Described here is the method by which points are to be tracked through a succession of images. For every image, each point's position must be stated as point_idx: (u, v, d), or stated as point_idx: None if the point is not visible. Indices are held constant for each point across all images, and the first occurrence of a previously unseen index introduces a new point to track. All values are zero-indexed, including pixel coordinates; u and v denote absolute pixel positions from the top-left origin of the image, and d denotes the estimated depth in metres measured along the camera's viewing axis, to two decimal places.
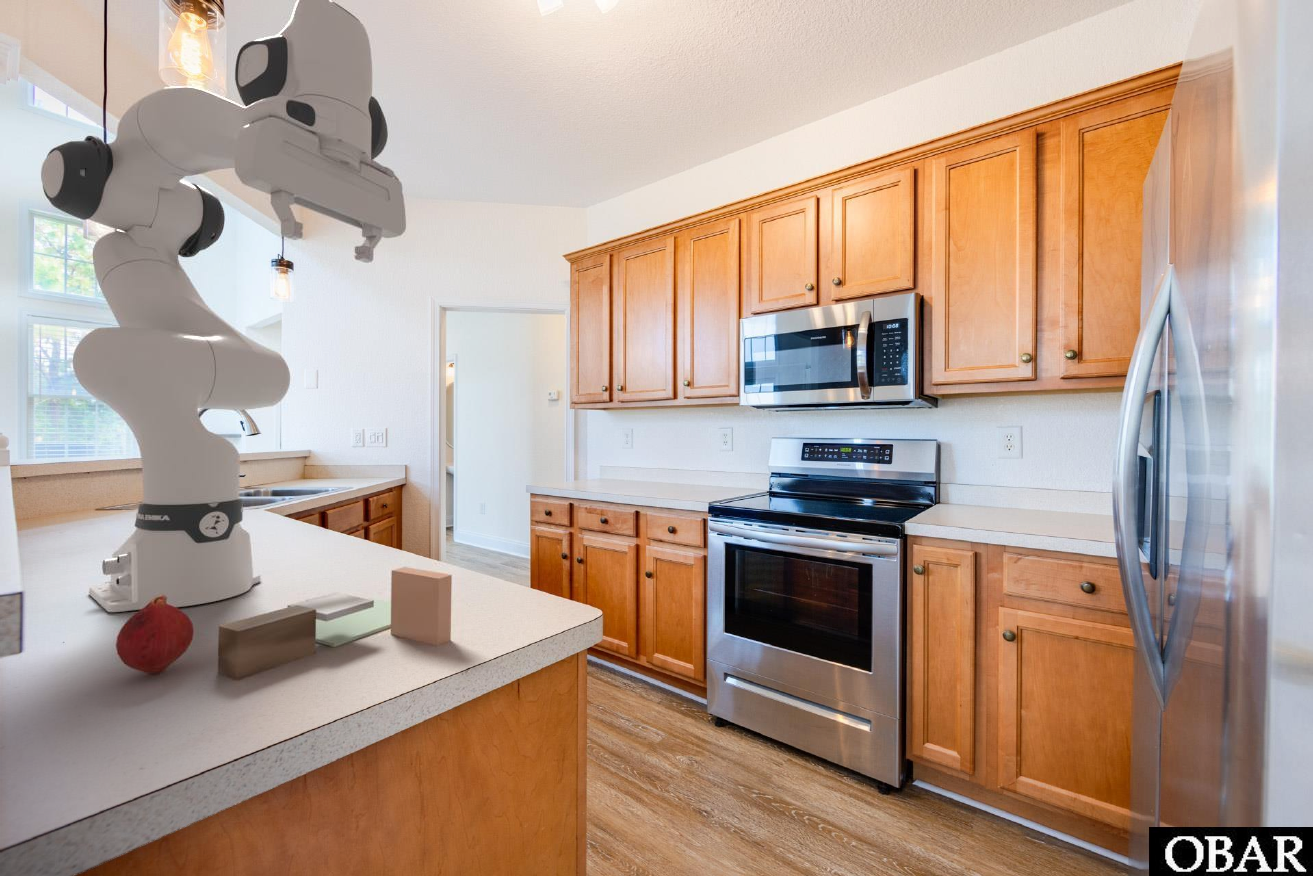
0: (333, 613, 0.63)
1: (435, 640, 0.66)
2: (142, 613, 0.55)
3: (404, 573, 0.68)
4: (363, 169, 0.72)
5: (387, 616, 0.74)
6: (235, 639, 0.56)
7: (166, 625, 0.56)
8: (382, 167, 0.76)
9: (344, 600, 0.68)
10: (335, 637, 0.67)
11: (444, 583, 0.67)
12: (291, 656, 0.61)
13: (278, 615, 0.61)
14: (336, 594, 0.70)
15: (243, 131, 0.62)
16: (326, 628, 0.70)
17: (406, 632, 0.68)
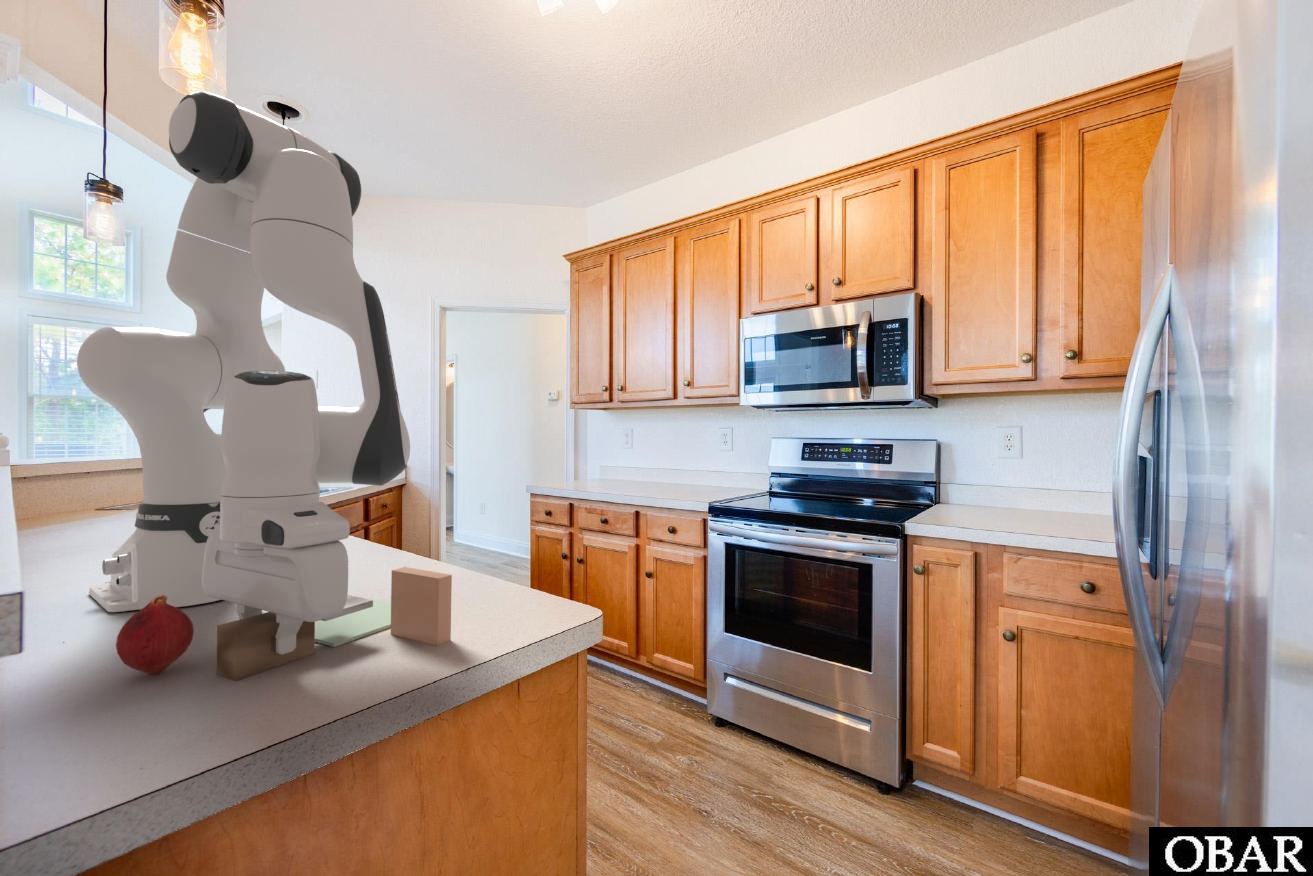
0: None
1: (435, 640, 0.66)
2: (142, 613, 0.55)
3: (404, 573, 0.68)
4: None
5: (387, 616, 0.74)
6: (234, 639, 0.56)
7: (166, 625, 0.56)
8: None
9: None
10: (335, 637, 0.67)
11: (444, 583, 0.67)
12: (290, 656, 0.60)
13: None
14: None
15: (317, 564, 0.55)
16: (326, 628, 0.70)
17: (406, 632, 0.68)
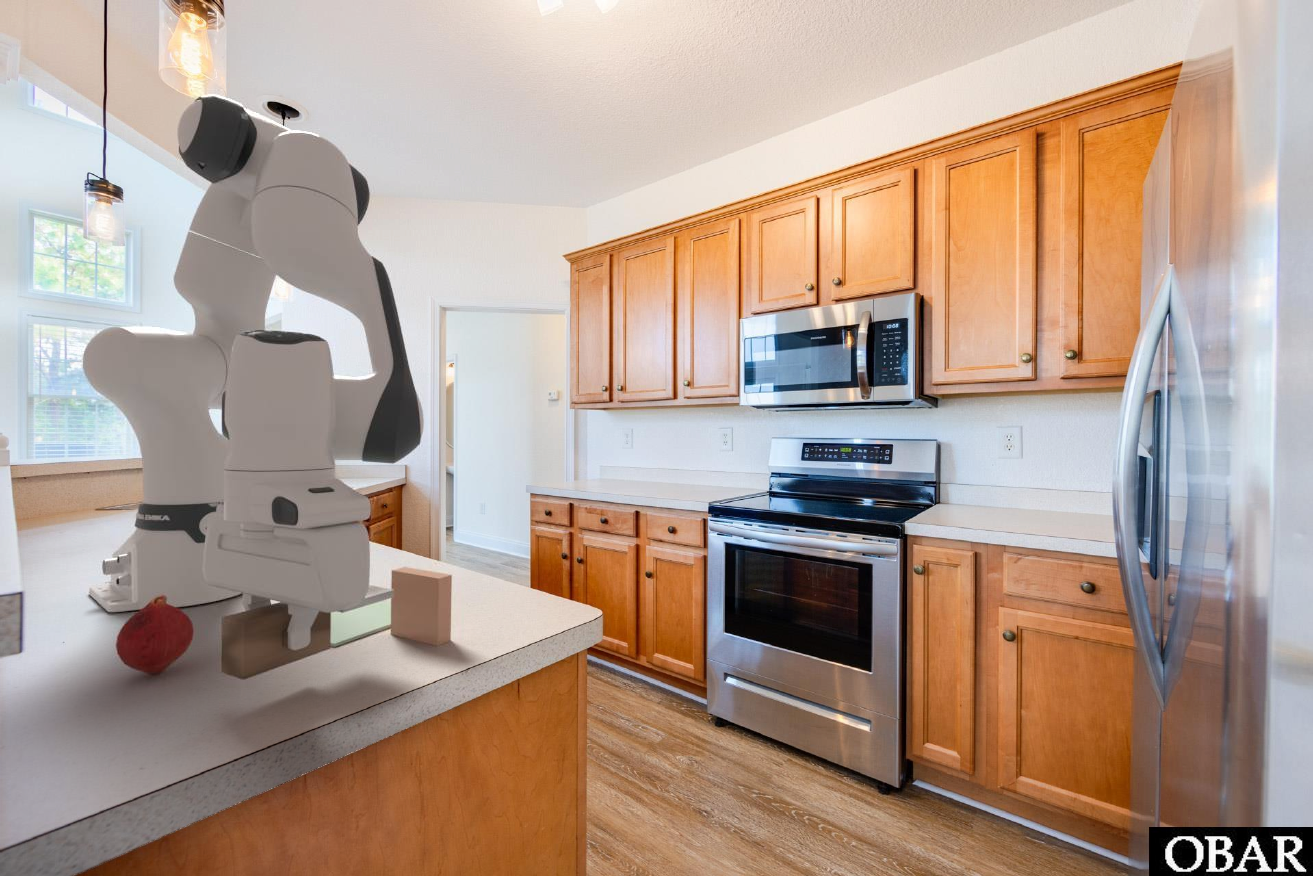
0: None
1: (435, 640, 0.66)
2: (142, 613, 0.55)
3: (404, 573, 0.68)
4: None
5: (387, 616, 0.74)
6: (241, 632, 0.49)
7: (166, 625, 0.56)
8: None
9: None
10: (335, 637, 0.67)
11: (444, 583, 0.67)
12: (304, 652, 0.54)
13: None
14: None
15: (335, 547, 0.48)
16: None
17: (406, 632, 0.68)
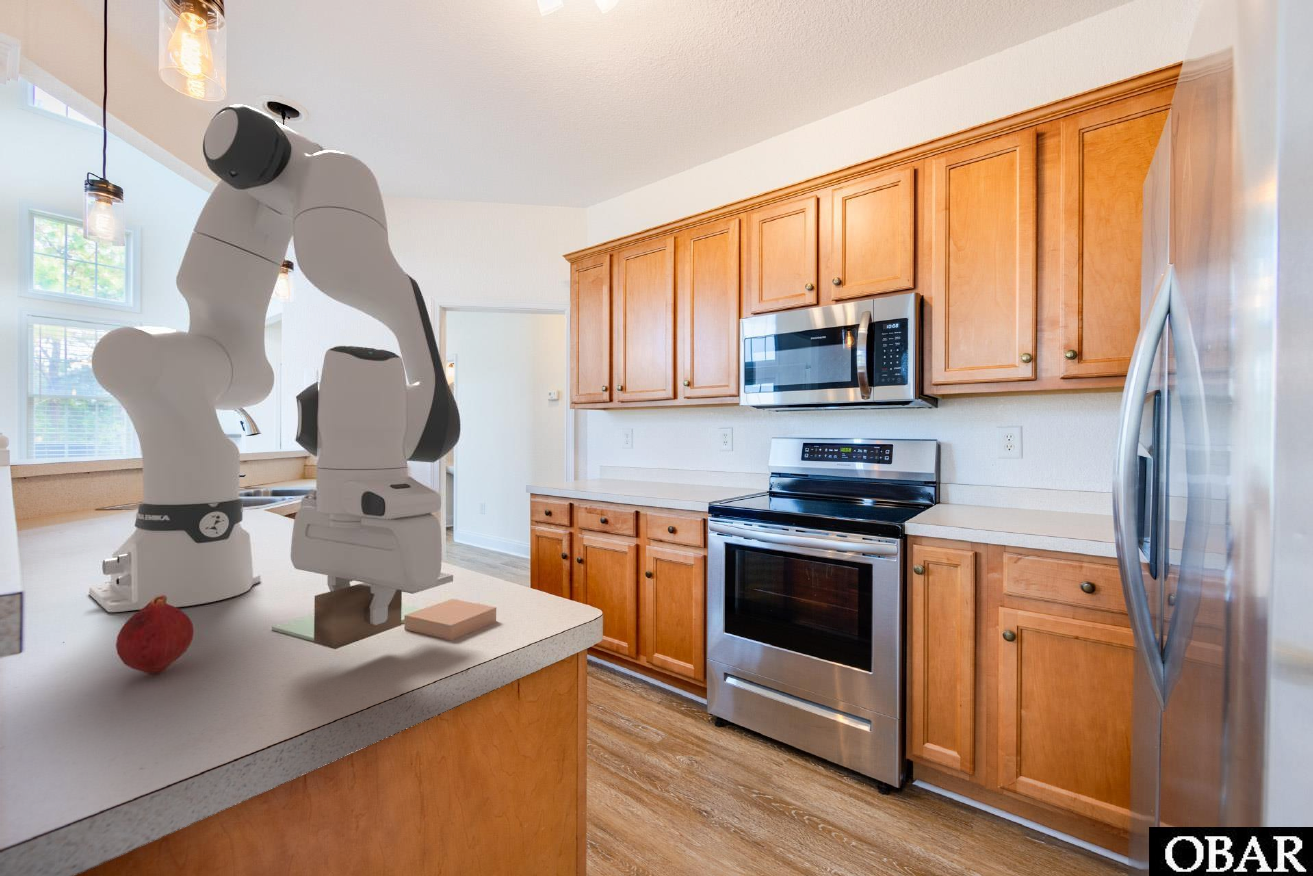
0: None
1: (452, 623, 0.68)
2: (142, 613, 0.55)
3: (463, 601, 0.77)
4: None
5: None
6: (333, 608, 0.57)
7: (166, 625, 0.56)
8: None
9: None
10: None
11: (492, 615, 0.74)
12: (381, 627, 0.62)
13: (368, 587, 0.62)
14: None
15: (415, 535, 0.56)
16: None
17: (424, 616, 0.71)
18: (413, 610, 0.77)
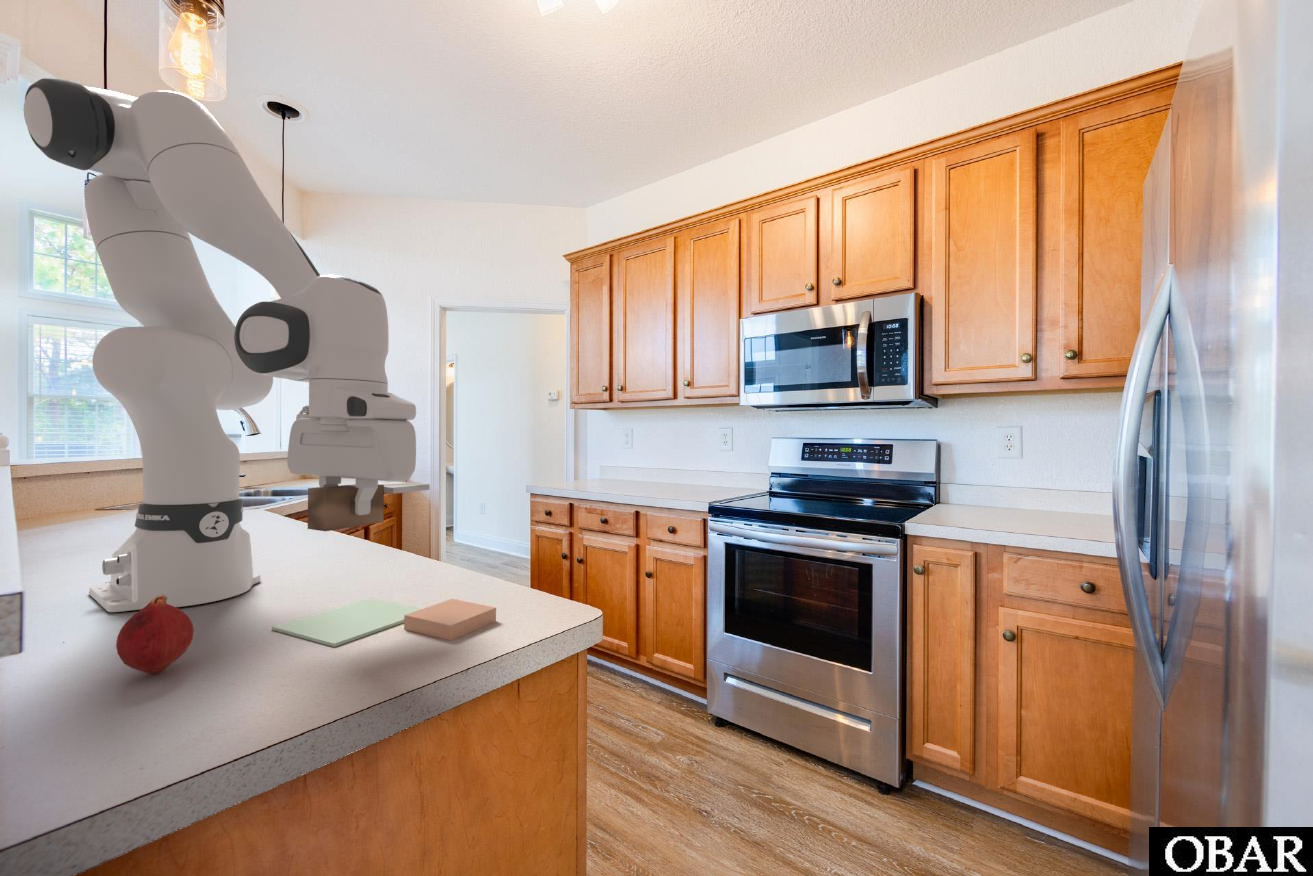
0: (398, 488, 0.74)
1: (452, 623, 0.68)
2: (142, 613, 0.55)
3: (463, 601, 0.77)
4: None
5: (387, 616, 0.74)
6: (324, 497, 0.67)
7: (166, 625, 0.56)
8: None
9: (404, 483, 0.79)
10: (335, 637, 0.67)
11: (491, 615, 0.74)
12: (365, 520, 0.72)
13: (354, 485, 0.72)
14: (395, 482, 0.81)
15: (393, 433, 0.66)
16: (326, 628, 0.70)
17: (423, 616, 0.70)
18: (413, 610, 0.77)
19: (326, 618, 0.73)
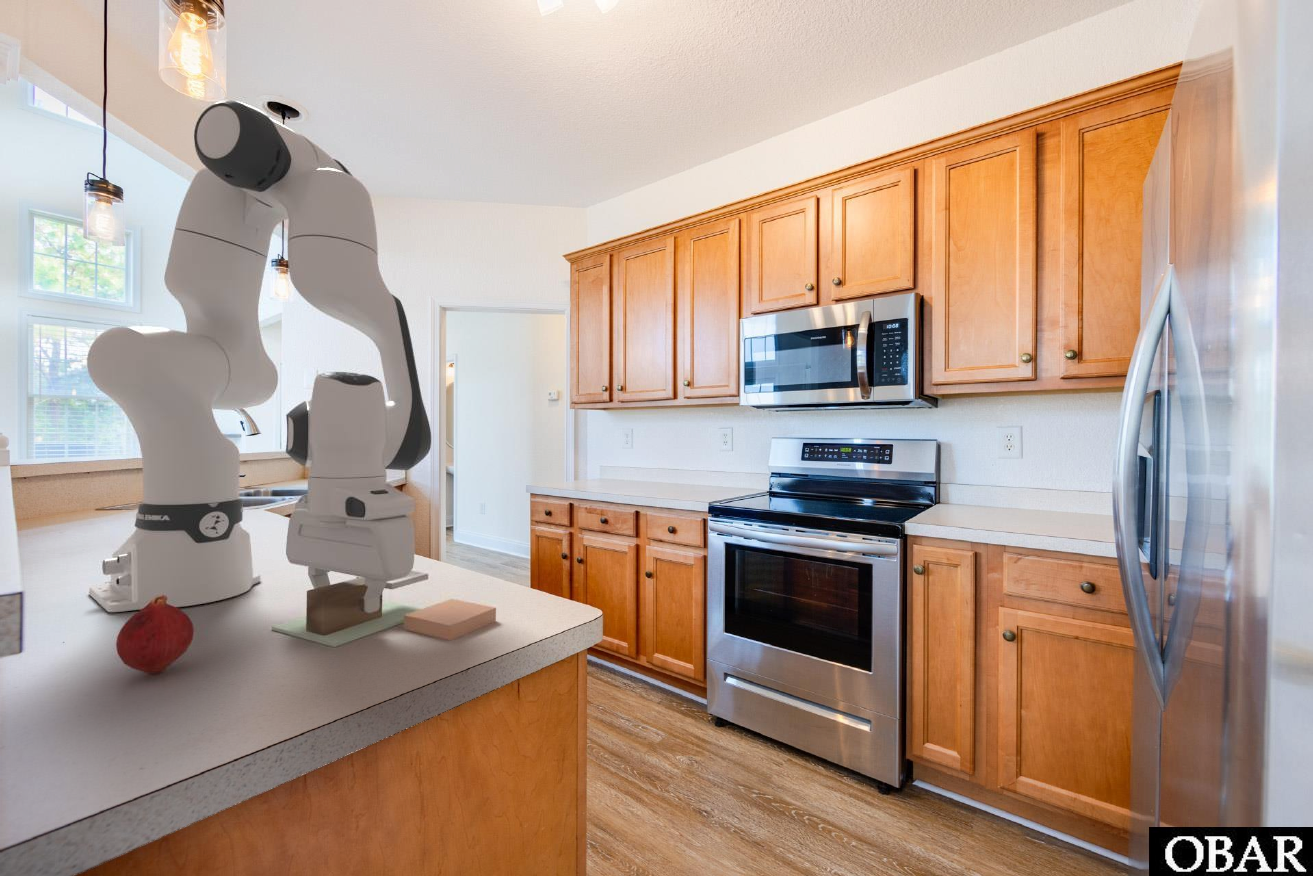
0: (397, 583, 0.74)
1: (451, 623, 0.68)
2: (142, 613, 0.55)
3: (463, 601, 0.77)
4: None
5: (387, 616, 0.74)
6: (322, 601, 0.67)
7: (166, 625, 0.56)
8: None
9: None
10: (335, 637, 0.67)
11: (491, 615, 0.74)
12: (364, 618, 0.72)
13: (353, 583, 0.72)
14: None
15: (391, 533, 0.66)
16: None
17: (423, 616, 0.70)
18: (413, 610, 0.77)
19: None
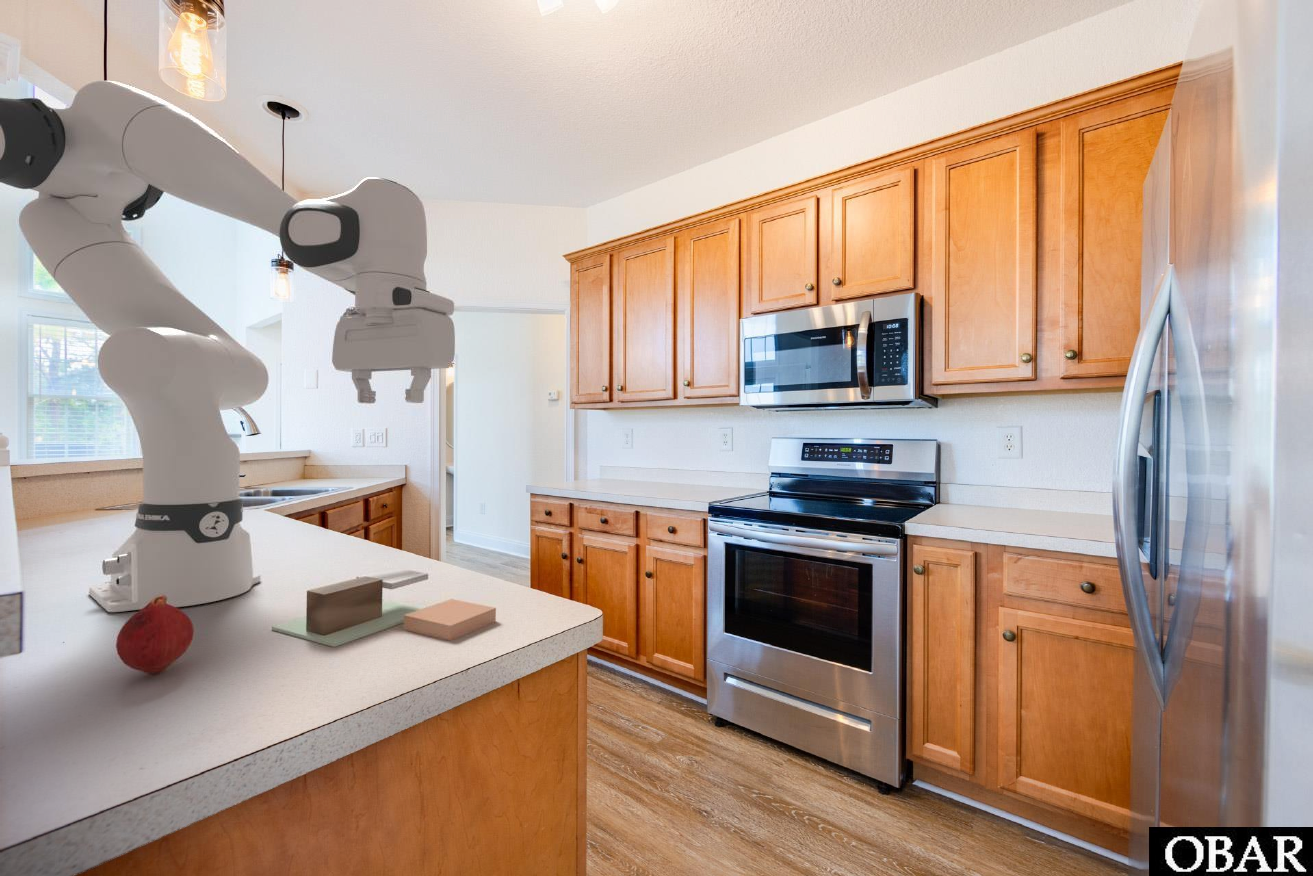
0: (397, 583, 0.74)
1: (451, 623, 0.68)
2: (142, 613, 0.55)
3: (463, 601, 0.77)
4: None
5: (387, 616, 0.74)
6: (322, 601, 0.67)
7: (166, 625, 0.56)
8: None
9: (403, 573, 0.79)
10: (335, 637, 0.67)
11: (491, 616, 0.74)
12: (364, 618, 0.72)
13: (353, 583, 0.72)
14: (394, 569, 0.81)
15: (435, 321, 0.71)
16: None
17: (423, 616, 0.70)
18: (413, 610, 0.77)
19: None
